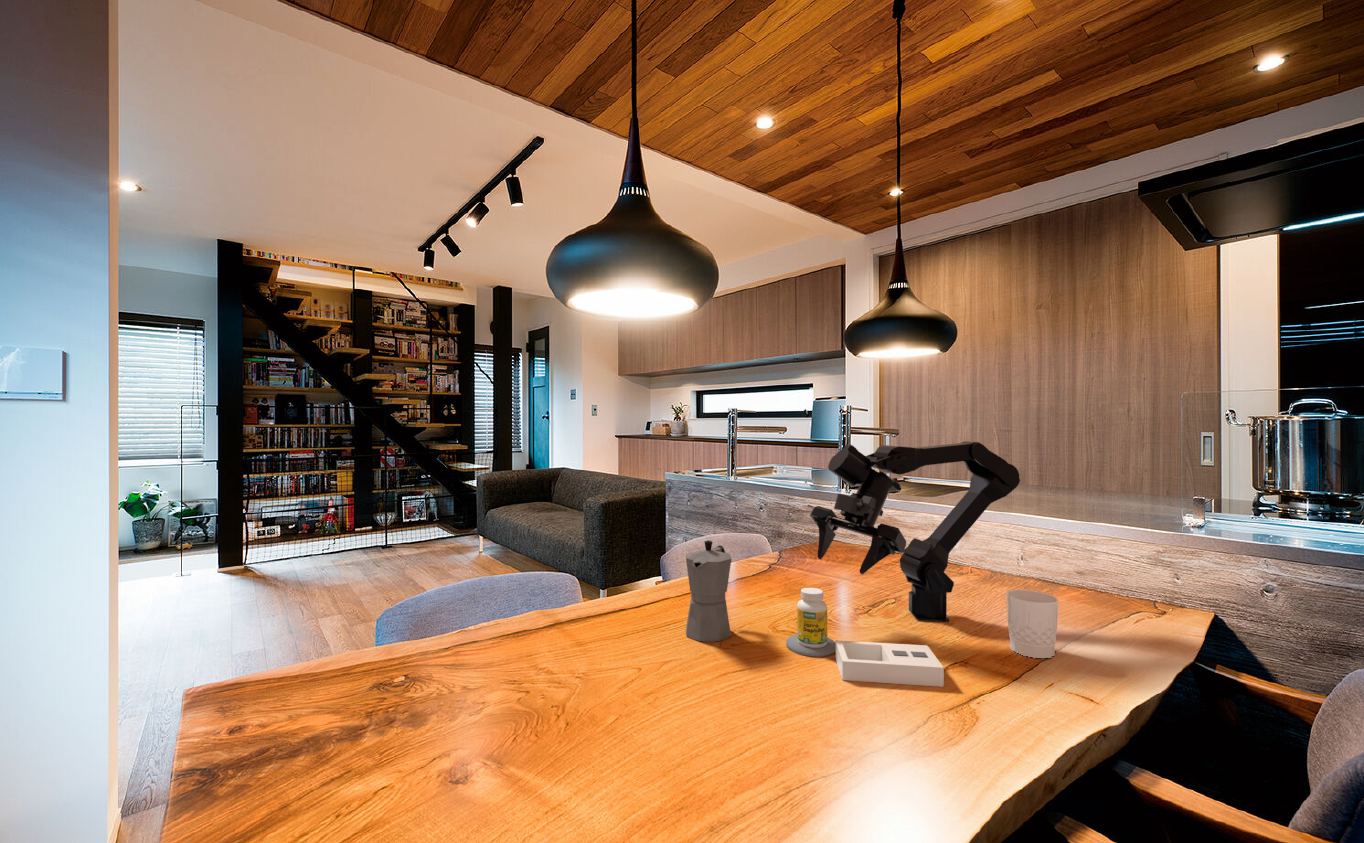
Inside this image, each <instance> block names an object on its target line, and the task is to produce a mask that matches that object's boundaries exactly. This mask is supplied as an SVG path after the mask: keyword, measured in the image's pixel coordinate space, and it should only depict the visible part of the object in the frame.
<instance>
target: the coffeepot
mask: <svg viewBox="0 0 1364 843" xmlns="http://www.w3.org/2000/svg"><path fill="white" fill-rule="evenodd" d="M712 546H713V540H705V541H704V547H705V549H701V550H696V551H693V552H688V553H685V562H686V570H687V576H688V577H687V578H688V584H689V592H690V600H689V605H688V606H689V607H688V612H687V618H686V619H687V620H686V625H685V636H686V637H688V638H690V639H691V640H694V641H696V640H698V641H697V642H701V641H703V643H715V642H716V641H718V642H721V640H722V641H725V640H727V639H728V638H730V637H731V636H732V635H731V634H732V633H731V627H730V620H729V613H728V608H727V607H728V606H727V600H726V593H727V592H728V584H729V580H730V579H729V577H730V571H731V565H732V556H731V553H729V552H726V551H725V548H724V546H723V545H717V546H716V547H713V548H712Z"/></svg>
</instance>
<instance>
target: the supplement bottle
mask: <svg viewBox="0 0 1364 843" xmlns="http://www.w3.org/2000/svg"><path fill="white" fill-rule="evenodd" d="M800 597H801V599H799V601H798V602H797V607H796V611H797V622H796V623H797V632H796V634H797V637H798V642H799V643H800V644H801V645H803V646H805V647H810V648H821V647H824V646H825V645H826V644H827V637H828V606H827V603H826V602H825V601H823V600H824V591H823V590H822V589H820V588H817V587H804V588H801V590H800Z"/></svg>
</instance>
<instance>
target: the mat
mask: <svg viewBox="0 0 1364 843" xmlns="http://www.w3.org/2000/svg"><path fill="white" fill-rule="evenodd" d="M785 645H786V647H787V649H789V650H790V651H791V652H793V653H795V654H797V655H801V656H805V657H811V658H812V657H815V658H821V657H828V656H832V655H834V654H835V641H834V640H833V639H831V638H829V637H828V636H827V644H826V645H825V646H824V647H821V648H810V647H805V646H803V645H801V644H800V643H799V642H798V637H797V633H796V634H792V635H790V636H789V637H787V638H786V639H785Z"/></svg>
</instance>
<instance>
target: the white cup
mask: <svg viewBox="0 0 1364 843" xmlns="http://www.w3.org/2000/svg"><path fill="white" fill-rule="evenodd" d="M1006 609H1007V610H1006V611H1007V612H1006V613H1007V626H1008V634H1009V646H1010V650H1011V651H1013V652H1014V651H1015V652H1016V653H1015V652H1014V653H1015V654H1017V653H1019V654H1018V655H1020V654H1021V655H1020V656H1022V655H1023V657H1026V656H1028V657H1027V658H1030V657H1033V658H1032V659H1035V658H1051V657H1052V656H1054V657H1055V652H1056V651H1055V650H1056V648H1055V647H1056V641H1057V631H1058V617H1059V598H1057V597H1056V596H1054V595H1051V594H1050V593H1049V594H1048V593H1045V592H1042V591H1037V590H1030V589H1010V590H1007V591H1006ZM1052 658H1053V657H1052ZM1052 658H1051V659H1052Z"/></svg>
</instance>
